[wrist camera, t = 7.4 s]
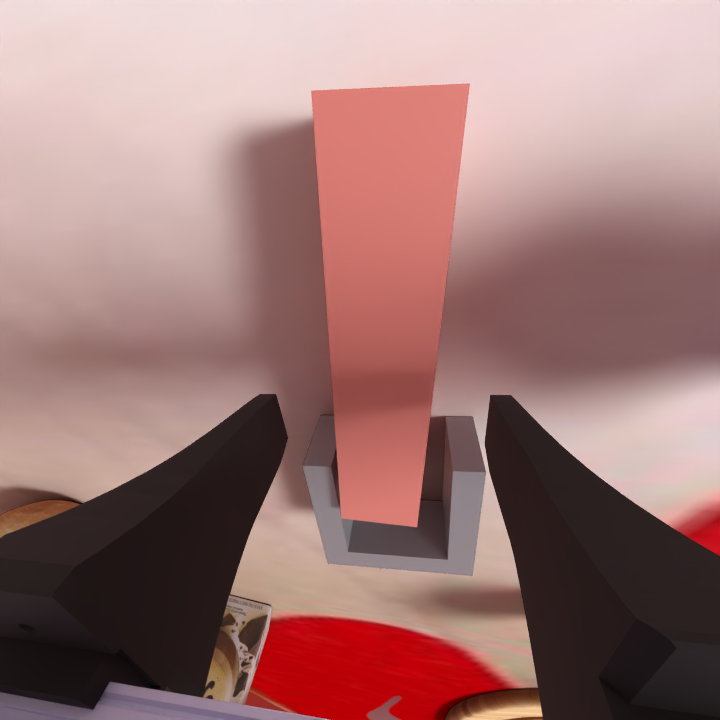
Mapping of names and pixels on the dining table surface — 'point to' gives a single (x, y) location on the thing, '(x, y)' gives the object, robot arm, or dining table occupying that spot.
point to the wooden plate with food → (499, 706)
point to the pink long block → (385, 279)
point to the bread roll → (32, 514)
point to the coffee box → (237, 650)
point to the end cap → (396, 542)
